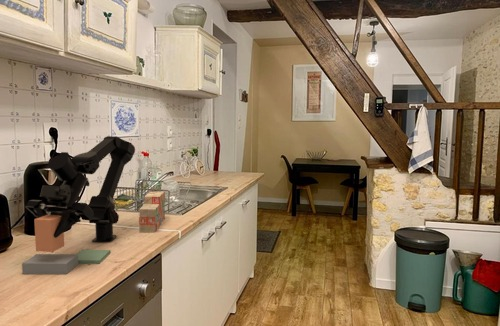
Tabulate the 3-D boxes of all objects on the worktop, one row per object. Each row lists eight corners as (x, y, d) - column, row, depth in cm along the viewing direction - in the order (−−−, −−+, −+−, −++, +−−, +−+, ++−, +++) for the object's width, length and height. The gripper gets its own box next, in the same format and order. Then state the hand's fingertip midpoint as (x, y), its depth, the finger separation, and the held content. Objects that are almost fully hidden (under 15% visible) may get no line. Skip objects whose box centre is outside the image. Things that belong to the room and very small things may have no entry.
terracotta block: (48, 244, 104) (47, 214, 103) (64, 246, 103) (63, 215, 102) (35, 250, 99) (34, 219, 98) (52, 252, 98) (50, 220, 97)
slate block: (36, 264, 105) (36, 254, 105) (78, 264, 106) (77, 254, 105) (22, 273, 98) (21, 263, 98) (66, 274, 99) (66, 263, 98)
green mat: (82, 252, 115) (82, 249, 115) (110, 252, 115) (110, 249, 115) (68, 263, 106) (68, 260, 106) (99, 263, 106) (99, 260, 106)
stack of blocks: (155, 232, 137) (155, 201, 136) (139, 232, 137) (138, 201, 136) (164, 218, 159) (164, 190, 157) (150, 218, 158) (150, 190, 157)
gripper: (28, 172, 104) (-2, 219, 95) (86, 175, 101) (61, 224, 92) (48, 194, 113) (23, 239, 103) (103, 197, 110) (81, 243, 100)
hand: (46, 236), depth 99 cm, fingers closed on terracotta block, 5 cm apart
